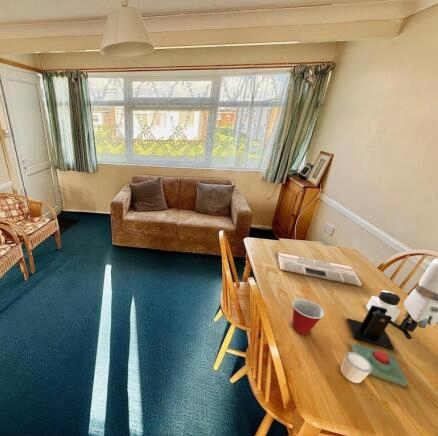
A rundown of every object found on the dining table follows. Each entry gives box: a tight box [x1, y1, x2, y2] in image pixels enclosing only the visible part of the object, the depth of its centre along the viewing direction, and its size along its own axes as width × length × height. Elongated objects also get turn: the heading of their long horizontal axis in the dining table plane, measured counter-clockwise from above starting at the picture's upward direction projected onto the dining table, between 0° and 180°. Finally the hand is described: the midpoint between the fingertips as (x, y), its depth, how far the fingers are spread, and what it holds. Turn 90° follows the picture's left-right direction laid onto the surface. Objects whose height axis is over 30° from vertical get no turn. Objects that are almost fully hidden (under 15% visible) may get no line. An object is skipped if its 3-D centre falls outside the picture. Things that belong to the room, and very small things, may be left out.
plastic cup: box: [291, 298, 325, 335], centre depth 93 cm, size 11×11×12 cm
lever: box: [373, 309, 413, 340], centre depth 88 cm, size 12×6×2 cm, turn 64°
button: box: [373, 350, 389, 364], centre depth 80 cm, size 4×4×2 cm
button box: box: [350, 342, 409, 387], centre depth 81 cm, size 12×10×4 cm
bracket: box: [346, 305, 395, 351], centre depth 91 cm, size 12×10×13 cm
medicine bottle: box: [365, 290, 402, 323], centre depth 100 cm, size 7×7×12 cm
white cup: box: [340, 351, 372, 384], centre depth 77 cm, size 7×7×7 cm
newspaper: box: [277, 252, 362, 287], centre depth 132 cm, size 37×19×3 cm, turn 68°
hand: (406, 328), depth 86 cm, fingers closed
